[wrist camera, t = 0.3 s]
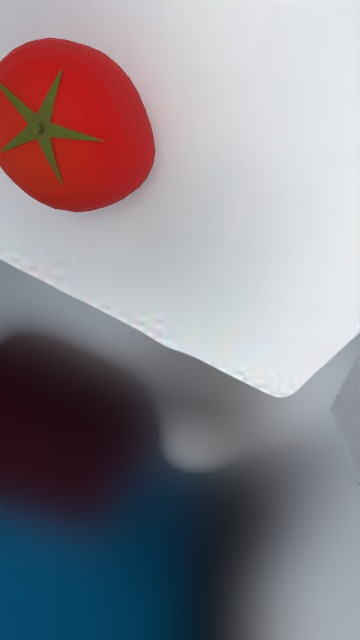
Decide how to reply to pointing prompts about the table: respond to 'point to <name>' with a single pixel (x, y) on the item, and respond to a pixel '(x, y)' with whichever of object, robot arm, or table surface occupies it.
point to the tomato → (72, 126)
